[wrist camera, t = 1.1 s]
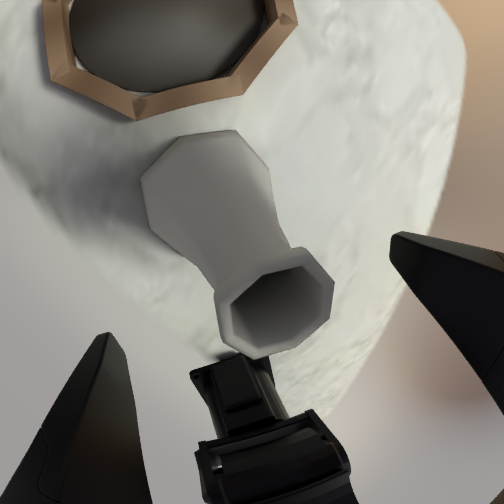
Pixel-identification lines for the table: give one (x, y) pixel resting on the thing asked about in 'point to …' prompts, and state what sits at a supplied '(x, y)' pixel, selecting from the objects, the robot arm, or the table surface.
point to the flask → (236, 242)
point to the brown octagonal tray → (162, 49)
